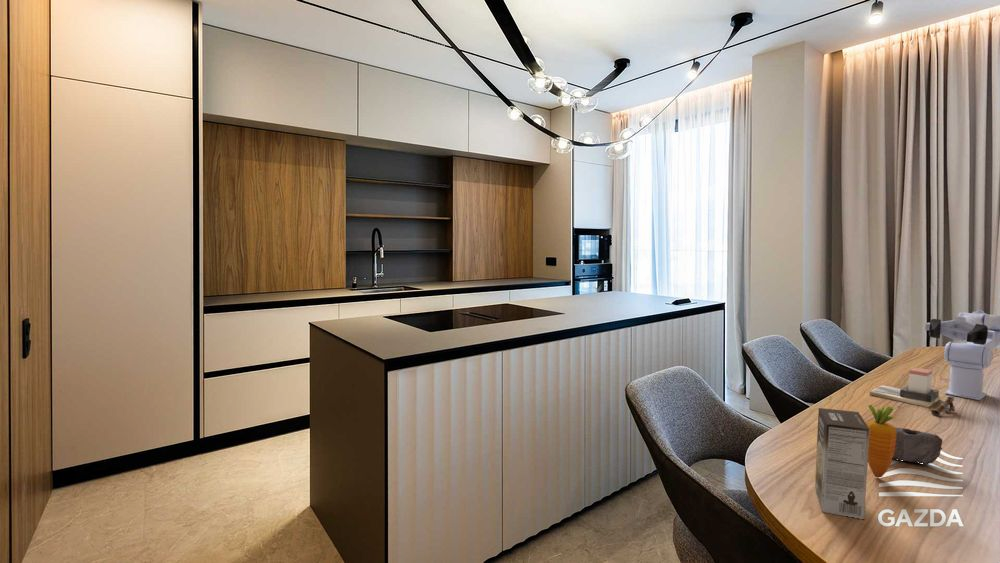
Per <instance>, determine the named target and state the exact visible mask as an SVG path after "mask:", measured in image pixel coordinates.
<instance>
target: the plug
mask: <svg viewBox="0 0 1000 563" xmlns="http://www.w3.org/2000/svg"><path fill="white" fill-rule="evenodd" d="M908 371H909V372H908V373H909V374H908V385H909V387H908V391H913V392H918V393H924V394H929V393H930V392H931V389H932V377H933V370H932V369H927V368H920V367H913V368H910V369H909V370H908Z"/></svg>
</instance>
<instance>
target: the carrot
mask: <svg viewBox="0 0 1000 563" xmlns="http://www.w3.org/2000/svg"><path fill="white" fill-rule="evenodd" d="M867 407H868V408H869V409H870V411H871V414H872V416H873V418H874V419H873V420H870V421H867V422H865V423H866V424H867V426H868V427H869V429H870V434H869V450H868V466H869V468H870V470H871V472H872V474H873V476H874V477H875V478H876V477H881V478H882V477H883V476H884V475H885V474H886V472H887V471H888V469H889V468H890V466H891V464H892V462H893V459H892V458H893V455H894V452H895V444H896V435H897V431H896V428H895V427H896V426H893V424H891V423H889V422H888V421H891V420H892V419H894V416H893V415H890V414H892V412H893V411H894V407H892V406H891V405H888V406H887V407H884V406H881V407H880V408H879V409H878V410H877V411H876V409H875V407H874V406H873V404H868V405H867Z"/></svg>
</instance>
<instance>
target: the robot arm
mask: <svg viewBox="0 0 1000 563" xmlns="http://www.w3.org/2000/svg"><path fill="white" fill-rule="evenodd" d="M924 328H925V331H928V335H929V336H928V337H930V338H933V339H941V335H942V336H945V337H946V338H949V339H952V340H953V341H957V342H952V341H948V342H947V343H946V344H945V346H944V351H943V358H944V360H945V361H946V362H947V363H948V365H950V371H949V372H950V373H949V385H948V389H947V390H946V391H944V394H945V395H949V396H953V397H955V396H956V397H959V398H960V397H961V398H966V399H970V400H971V399H972V400H976V401H981V400H982V399H984V397H986V396H987V392H984V391H983V388H984V387H983V386H984V369H985V368H989V367H990V366H991V365H992V361H993V358H994V351H995V350H996V349H997V348H998V347H999V345H1000V315H997V314H988V313H985V311H984V310H976V311H972V312H971V313H970V312H961V311H960V312H959V313H958V314H957V316H955V319H952V320H945V321H944V320H943V321H942V320H941V318H940V319H939V318H933V319H930V321H929V322H927V323H925V327H924ZM960 341H961V342H964V341H966V342H965V343H961V342H960Z"/></svg>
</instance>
